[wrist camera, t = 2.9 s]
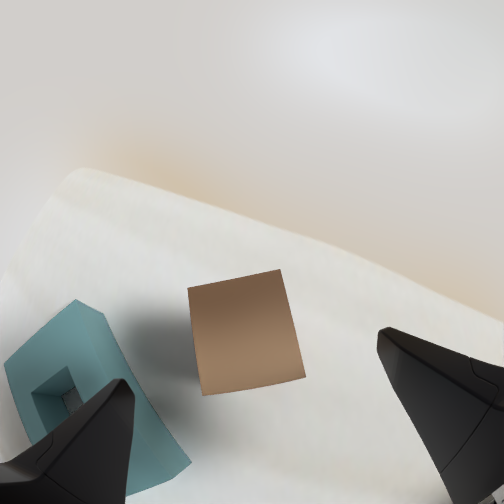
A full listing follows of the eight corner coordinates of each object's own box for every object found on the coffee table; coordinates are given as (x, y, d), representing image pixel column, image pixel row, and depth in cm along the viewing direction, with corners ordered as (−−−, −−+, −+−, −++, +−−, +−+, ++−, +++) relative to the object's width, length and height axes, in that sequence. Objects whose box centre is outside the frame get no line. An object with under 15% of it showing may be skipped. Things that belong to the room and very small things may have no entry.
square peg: (290, 377, 17) (306, 377, 8) (240, 387, 17) (202, 395, 8) (278, 324, 19) (279, 268, 10) (230, 333, 19) (187, 288, 10)
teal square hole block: (191, 462, 14) (172, 478, 11) (96, 499, 12) (70, 510, 8) (103, 313, 20) (75, 299, 17) (32, 370, 18) (3, 363, 14)
